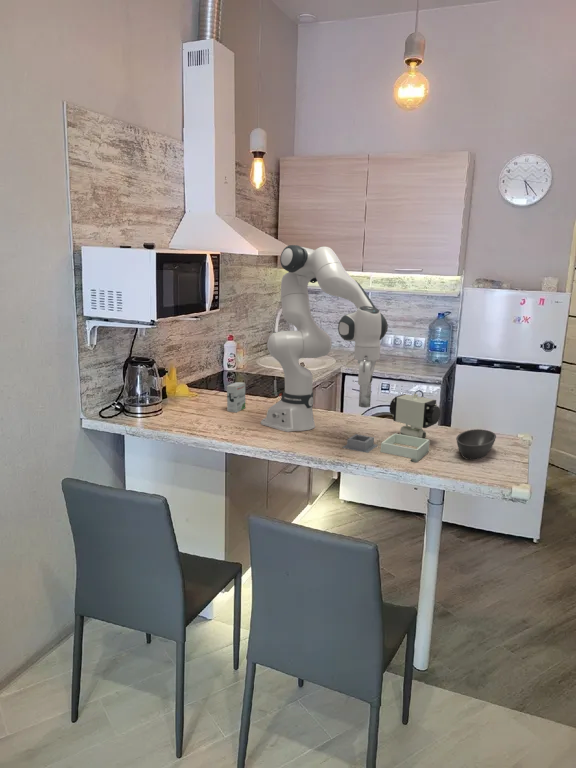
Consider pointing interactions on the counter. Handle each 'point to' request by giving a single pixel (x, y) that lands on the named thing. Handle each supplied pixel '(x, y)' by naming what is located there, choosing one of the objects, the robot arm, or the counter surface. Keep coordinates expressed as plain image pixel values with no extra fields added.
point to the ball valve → (414, 414)
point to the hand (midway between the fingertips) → (365, 392)
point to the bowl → (475, 443)
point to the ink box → (236, 397)
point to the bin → (405, 451)
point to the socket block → (360, 443)
